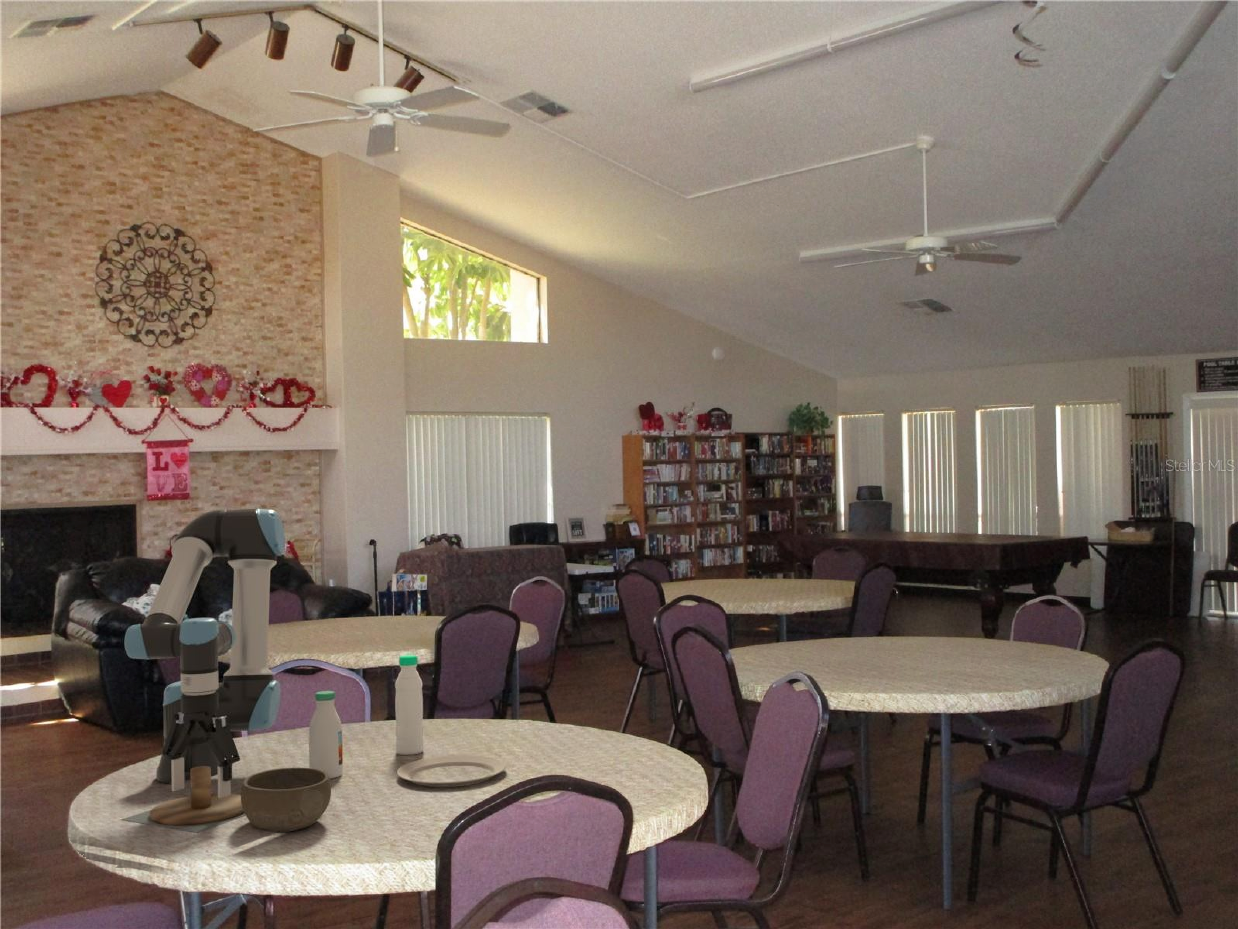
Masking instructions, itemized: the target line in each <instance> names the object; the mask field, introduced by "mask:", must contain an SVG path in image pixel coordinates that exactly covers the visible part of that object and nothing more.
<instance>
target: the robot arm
mask: <svg viewBox="0 0 1238 929" xmlns="http://www.w3.org/2000/svg"><path fill="white" fill-rule="evenodd" d="M284 529H285V528H284V526H283V522H282V520H281V516H280V515H279V513H278V512H277V511H275V510H273V509H264V508H248V509H247V508H246V509H245V508H244V509H214V510H212V511H208V512H205V513H203V514H200V515H199V516H197V517H195V519H193V520H192V521H191V522H189V523H188V524H187V525H186V526H185V527H184V528H183V529H182V530H181V531H180V532H179V533H178V535H177V536H176V538H175V540H174V542H173V544H172V547H171V555H172V557H171V560H170V562H169V564H168V567H167V569H166V571H165V573H164V576H163V579H162V580H161V582H160V585H159V587H158V590H157V592H156V594H155V597H154V599H153V600H152V604H151V606H150V608H149V611H148V613H147V615H146V617H145V619H144V621H143V623H142V624H141V623H138V624H133V625H131V626H129V627H128V628H127V630H126V631H125V633H124V634H125V635H124V643H123V644H124V650H125V652H126V655H127V656H128V658H130V659H132V660H133V659H136V660H155V659H156V660H158V659H180V662H179V663H180V664H179V665H180V680H179V681H176V682H173V683H171V684H169V685H166V687H165V689H164V691H163V703H162V707H163V749H162V750H161V756H160V759H159V764H158V766H157V768H156V772H155V773H156V781H157V782H159V783H162V784H169V785H171V791H172V792H176V791H179V790H180V791H181V790H183V789H185V781H191V774H190V769H191V768H194V767H199V766H209V767H211V777H212V776H215V775H217V794H218V798H223V797H226V796H229V795H231V794H232V791H231V790H232V789H231V782H232V779H233V764H235V763H237V762H240V760H241V759H240V758H241V757H240V755H239V752H238V749H237V745H236V743H235V740H234V736H233V735H232V732H248V731H249V732H254V731H263V730H264V731H265V730H267V729H269V728H271V727H272V726H273V725H274V722H275V721H276V719H277V716H278V712H279V710H280V704H281V703H280V702H281V695H282V694H281V693H282V692H281V683H280V682H279V681H278V680H276V679H274V672H273V671H272V670H271V669H270V668H269V667H268V648H269V625H270V624H269V621H270V620H269V619H270V588H271V570H272V568H274V567H275V566H276V565H277V562H278V556H279V557H281V556H282V555H283V554H284V553H285V548H286V537H285V530H284ZM216 557H227V563H228V565H229V566H231V568H232V569H233V587H232V588H233V590H232V591H233V592H232V593H233V594H232V613H231V614H232V616H231V620H232V621H231V624H230V623H228V622H227V621H223V620H217V619H216V618H214V617H195V618H194V617H193V618H187V619H184V616H185V614H186V612H187V609H188V606H189V605H190V603H191V600H192V597H193V594H194V593H195V590H196V587H197V585H198V582H199V581H200V578H201V575H202V573H203V570H204V568H205V567H206V566H208V565H209V564H210V563H211V562H212V560H213V558H216ZM183 619H184V620H183ZM229 651H230V667H229V669H228V670H226V671H225V672H224V674H223V678H222V682H219V657H221V656H223V655H225V654H226V653H227V652H229Z"/></svg>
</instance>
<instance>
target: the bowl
mask: <svg viewBox="0 0 1238 929" xmlns="http://www.w3.org/2000/svg"><path fill="white" fill-rule="evenodd" d="M240 795H241V804H242V808H243V811H244V813H245V815H246V816H245V817H246V818H247V820H248V821H249V822H250V823H251V824H252V825H253V826H254V827H256V828H257V829H260V830H264V831H270V832H272V831H273V832H275V833H287V832H293V831H298V830H302V829H304V828H308V827H310V826H312V825H314V824H315V823H316V822H317V821H319V819H320V818H321V817H322V816H323V815H324V813H325V812H326V810H327V809H328V807H329V804H330V802H331V797H332V796H331V795H332V785H331V779H330V778H329V775H328V773H326V772H325V771H323V770H319V769H313V768H309V767H282V768H273V769H268V770H263V771H261V772H257V773H254V774H251V775H249V776H248V777H246V778H245V779H243V781H242V786H241V790H240Z"/></svg>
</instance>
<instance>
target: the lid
mask: <svg viewBox="0 0 1238 929" xmlns="http://www.w3.org/2000/svg"><path fill="white" fill-rule="evenodd" d="M190 774H191V780H190V796H184V797H180V798H175V799H171V800H167V801H165V802H162V803H160V804H158V805H156V806H154V807H153V808H151V809H150V810H151V811H150V820H151V821H153V822H155V823H158V824H162V825H171V826H187V825H200V824H207V823H213V822H218V821H223V820H227V819H230V818H233V817H236V816H239V815H241V814H243V813H244V811H243V808H242V804H241V794H237V793H236V794H235V793H231V795H229V796H226V797H223V798H218V793H212V776H211V767H209V766H199V767H194V768H191V769H190Z"/></svg>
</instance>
